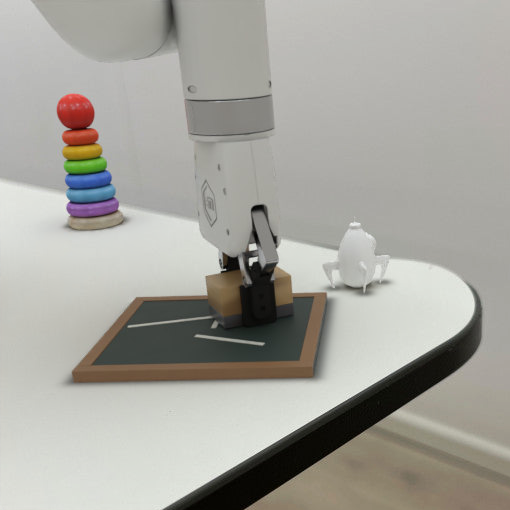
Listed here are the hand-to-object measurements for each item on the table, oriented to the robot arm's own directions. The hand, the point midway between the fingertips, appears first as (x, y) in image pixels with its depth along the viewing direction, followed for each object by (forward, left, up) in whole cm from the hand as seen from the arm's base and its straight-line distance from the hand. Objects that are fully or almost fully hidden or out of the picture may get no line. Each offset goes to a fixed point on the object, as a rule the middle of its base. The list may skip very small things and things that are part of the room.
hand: (250, 313), depth 74 cm
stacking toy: (-30, +43, -2) cm, 52 cm away
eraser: (0, 0, 0) cm, 0 cm away
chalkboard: (-3, -3, -1) cm, 5 cm away
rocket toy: (+10, +11, -2) cm, 15 cm away
